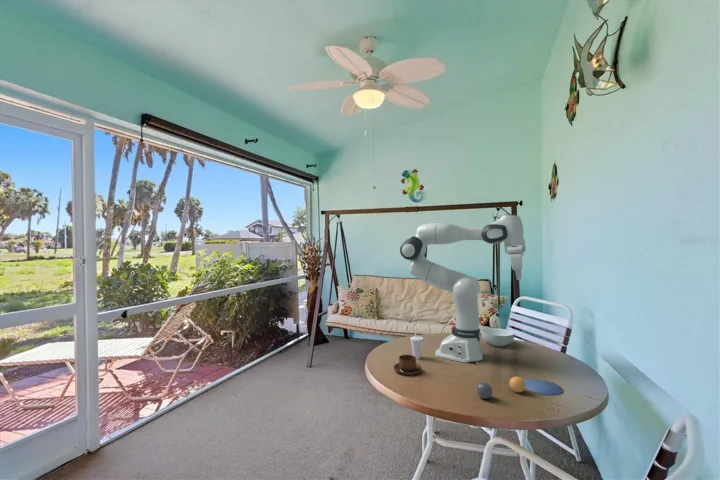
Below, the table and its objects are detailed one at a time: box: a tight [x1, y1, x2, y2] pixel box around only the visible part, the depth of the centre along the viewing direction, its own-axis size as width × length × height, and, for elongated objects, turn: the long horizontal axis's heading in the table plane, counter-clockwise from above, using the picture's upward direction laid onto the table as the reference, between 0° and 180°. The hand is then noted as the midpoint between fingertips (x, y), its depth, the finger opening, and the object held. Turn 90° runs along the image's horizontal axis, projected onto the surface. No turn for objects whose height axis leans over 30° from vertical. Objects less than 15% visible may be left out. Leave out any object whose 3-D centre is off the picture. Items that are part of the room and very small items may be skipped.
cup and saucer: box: [393, 354, 422, 375], centre depth 148 cm, size 12×12×6 cm
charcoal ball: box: [476, 381, 494, 400], centre depth 122 cm, size 6×6×6 cm
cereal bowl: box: [480, 327, 515, 347], centre depth 185 cm, size 17×17×7 cm
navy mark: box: [523, 378, 564, 396], centre depth 130 cm, size 14×14×1 cm
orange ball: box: [509, 376, 526, 393], centre depth 126 cm, size 6×6×6 cm
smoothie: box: [410, 328, 424, 360], centre depth 164 cm, size 6×6×14 cm
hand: (519, 278), depth 155 cm, fingers open, 8 cm apart
